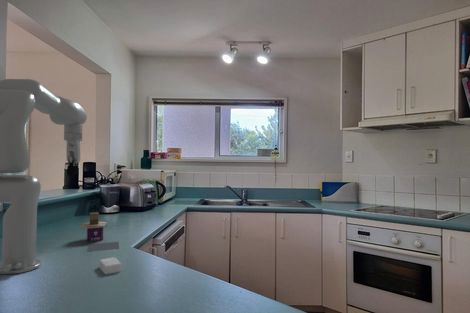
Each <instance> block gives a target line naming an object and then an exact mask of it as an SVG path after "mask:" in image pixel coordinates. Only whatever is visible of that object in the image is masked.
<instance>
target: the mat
mask: <svg viewBox="0 0 470 313" xmlns="http://www.w3.org/2000/svg"><path fill="white" fill-rule="evenodd" d="M119 249H120V244H119V241H111V242H98V243H97V242H95V243H89V244H88V247H87V249H86V251H87V252H89V253H90V252H97V251H98V252H99V251H100V252H101V251H109V250H111V251H112V250H119Z"/></svg>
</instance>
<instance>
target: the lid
mask: <svg viewBox="0 0 470 313" xmlns="http://www.w3.org/2000/svg"><path fill="white" fill-rule="evenodd" d="M99 214H100V212H99V211H97V212H89V222H85V223H81V224H80V228H82V229H87V228H99V227H103V228H104V227H106V226H108V223H107V222H106V221H99V220H100V218H99Z"/></svg>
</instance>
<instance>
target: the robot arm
mask: <svg viewBox="0 0 470 313" xmlns="http://www.w3.org/2000/svg"><path fill="white" fill-rule="evenodd" d="M35 109H36V110H37V111H39V112H40V113H42V114H43V115H44V114H45V115H49V119H50V120H51V122H52V123H54V125H55V124H56V125H60V126H61V125H63V141H65V142H66V162H67V169H66V170H67V171H66V172H67V175H68V176H73V175H74V176H75V175H77V174H78V171H79V165H78V162H81V142H82V141H83V124H85V123H86V122H87V117H88V116H87V115H88V114H87V113H86V111H85V108H83V106H81V105H80V104H79V103H78V102H75V101H73V100H70V99H68V98H64V97H62V96H59V95H56V94H54V93H53V92H52V91H50V89H48V88H47V87H45V85H43V84H42V83H40V82H39V81H37V80H34V79H29V78H4V79H2V80H0V204H9V207H8V208H7V209H6V211H5V212H4V214H3V217H2V247H1V248H2V253H1V254H2V258H1V260H2V261H1V264H0V274H1V275H12V274H13V275H14V274H23V273H26V272H30V271H33V270H35V269H36V270H37V269H38V268H39V267H41V266H42V260H41V259H38V258H37V237H38V236H37V233H38V232H37V228H38V227H37V221H38V220H37V218H38V217H37V216H38V205H39V204H38V203H39V198H40V194H41V189H42V188H41V187H42V186H41V182H40V180H39V179H38V178H36V177H35V176H34V175H28V174H20V173H23V172H26V171H27V170H28V169H29V168H30V164H31V163H30V162H31V161H30V160H31V159H30V154H29V149H28V144H27V140H26V134H25V133H26V132H25V128H26V124H27V121H28V120H29V117H30V116H31V114H32V113H33V112H34V110H35ZM18 173H19V174H18Z"/></svg>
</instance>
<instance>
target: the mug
mask: <svg viewBox="0 0 470 313" xmlns="http://www.w3.org/2000/svg"><path fill="white" fill-rule="evenodd" d="M102 241H104V227H99V228H86V242H87V243H97V242H98V243H100V242H102Z"/></svg>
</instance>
